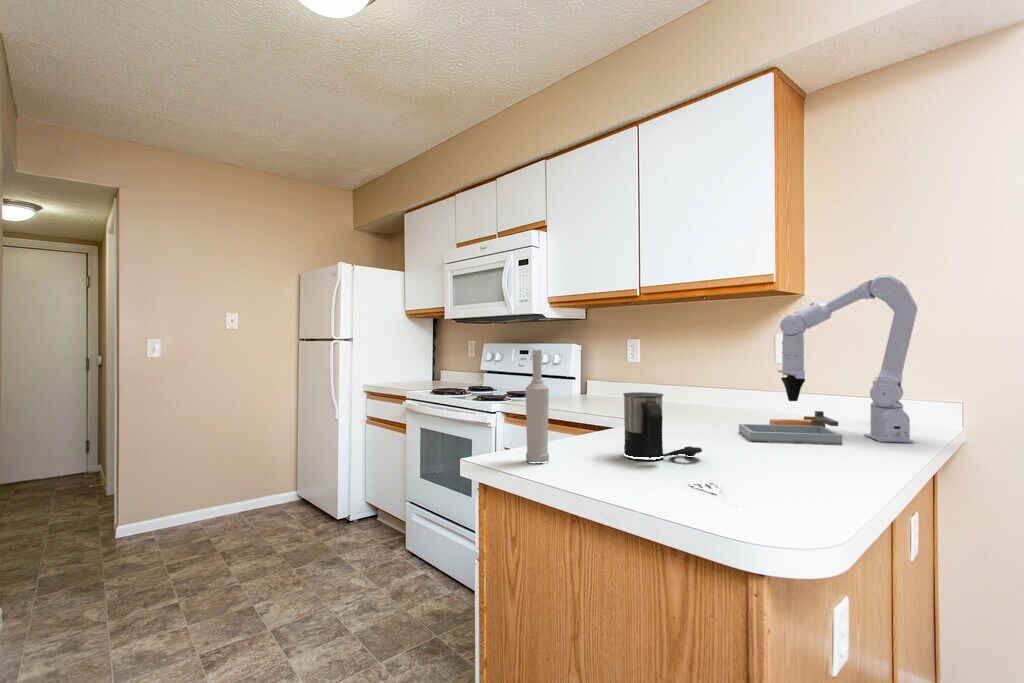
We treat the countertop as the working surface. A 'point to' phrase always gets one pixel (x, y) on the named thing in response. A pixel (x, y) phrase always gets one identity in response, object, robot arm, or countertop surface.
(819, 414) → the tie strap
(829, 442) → the parts tray
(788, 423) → the orange-brown bar
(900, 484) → the countertop surface
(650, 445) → the milk frother
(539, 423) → the bottle
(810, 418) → the clamp posts
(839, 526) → the countertop surface
